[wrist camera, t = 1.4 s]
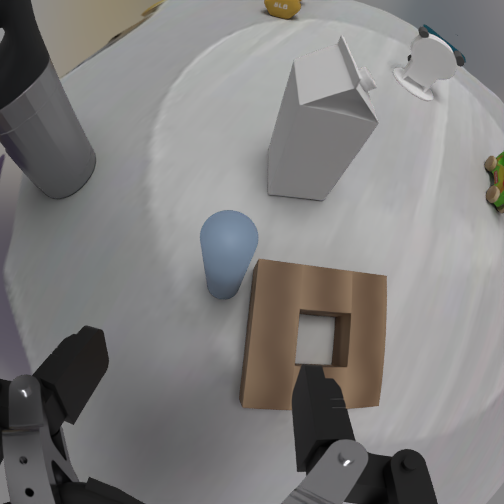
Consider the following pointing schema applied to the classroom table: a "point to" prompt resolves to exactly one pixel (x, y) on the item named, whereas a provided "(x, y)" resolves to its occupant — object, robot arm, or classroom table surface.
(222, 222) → the peg
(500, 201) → the toy lion
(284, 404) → the socket
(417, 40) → the panda figurine
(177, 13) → the classroom table surface
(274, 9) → the dumbbell
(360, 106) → the milk carton
